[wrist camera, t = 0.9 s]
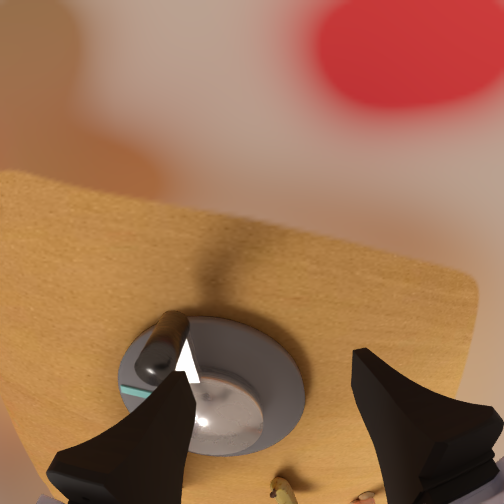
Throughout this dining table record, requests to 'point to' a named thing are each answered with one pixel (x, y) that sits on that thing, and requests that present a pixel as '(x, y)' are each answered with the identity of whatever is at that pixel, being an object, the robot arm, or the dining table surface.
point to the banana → (282, 491)
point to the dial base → (235, 361)
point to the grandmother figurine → (365, 499)
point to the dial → (203, 389)
